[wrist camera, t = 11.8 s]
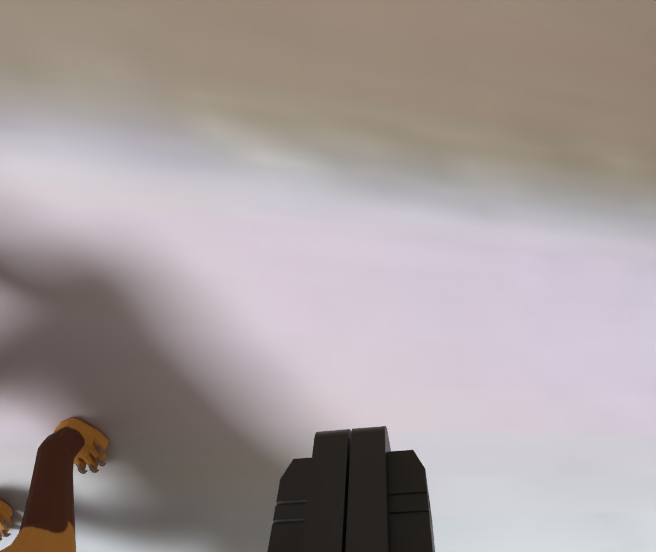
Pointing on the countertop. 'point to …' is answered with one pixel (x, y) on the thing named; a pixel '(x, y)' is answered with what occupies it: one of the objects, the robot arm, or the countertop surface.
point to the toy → (55, 489)
